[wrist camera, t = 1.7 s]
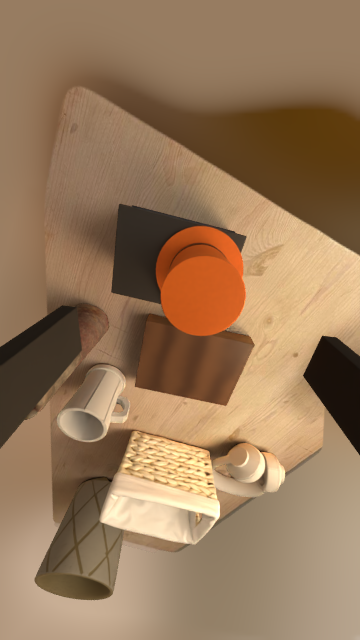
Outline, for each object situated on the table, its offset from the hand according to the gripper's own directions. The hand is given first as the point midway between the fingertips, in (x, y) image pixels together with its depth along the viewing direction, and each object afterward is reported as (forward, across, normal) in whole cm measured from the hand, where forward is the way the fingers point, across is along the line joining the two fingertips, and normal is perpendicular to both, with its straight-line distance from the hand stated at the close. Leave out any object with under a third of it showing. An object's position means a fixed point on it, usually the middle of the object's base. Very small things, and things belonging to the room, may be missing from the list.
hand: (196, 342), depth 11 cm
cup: (+26, -15, -28) cm, 41 cm away
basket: (+26, -1, -53) cm, 59 cm away
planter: (+26, -19, -77) cm, 83 cm away
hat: (+15, +1, 0) cm, 15 cm away
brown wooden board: (+26, +2, -20) cm, 32 cm away
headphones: (+26, +20, -52) cm, 62 cm away
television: (+26, -2, +1) cm, 26 cm away
